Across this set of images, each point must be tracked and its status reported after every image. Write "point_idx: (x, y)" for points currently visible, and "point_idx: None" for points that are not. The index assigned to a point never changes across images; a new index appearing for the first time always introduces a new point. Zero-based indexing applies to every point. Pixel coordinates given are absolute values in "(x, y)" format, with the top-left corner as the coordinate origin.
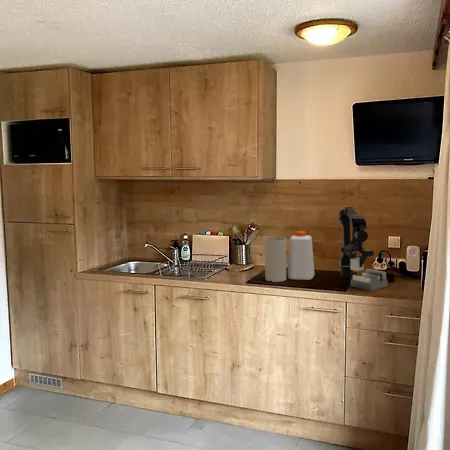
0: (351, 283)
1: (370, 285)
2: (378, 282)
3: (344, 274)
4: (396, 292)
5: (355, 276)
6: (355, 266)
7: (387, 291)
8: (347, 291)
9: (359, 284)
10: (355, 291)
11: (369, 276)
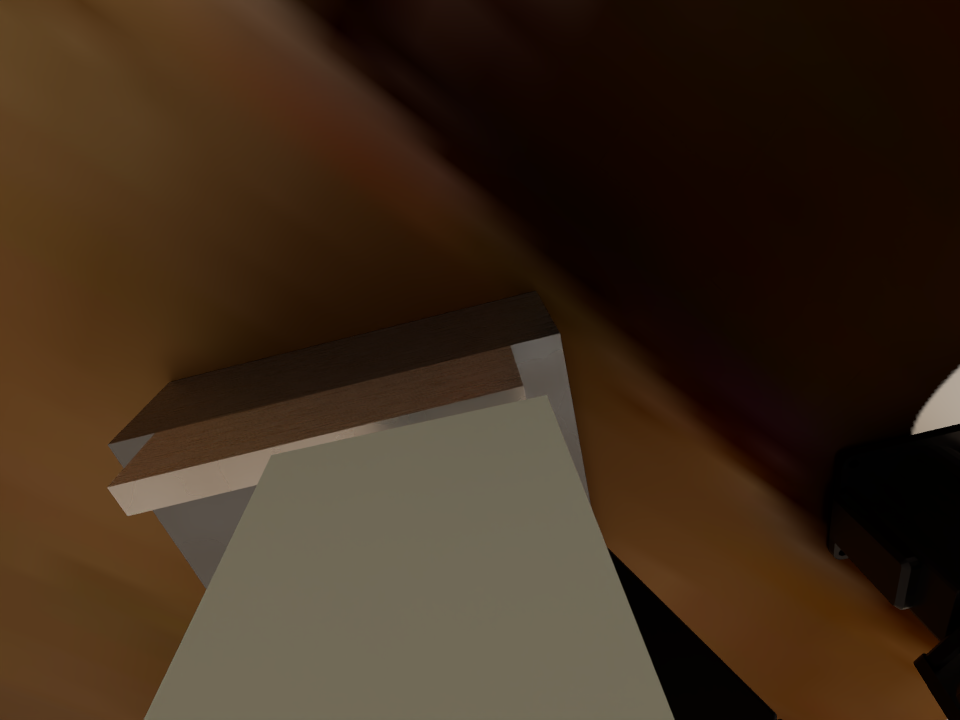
0: (526, 310)
1: (141, 421)
2: (207, 574)
3: (937, 483)
4: (18, 578)
5: (448, 395)
6: (320, 529)
7: (89, 527)
8: (243, 10)
9: (363, 355)
10: (201, 152)
11: None
